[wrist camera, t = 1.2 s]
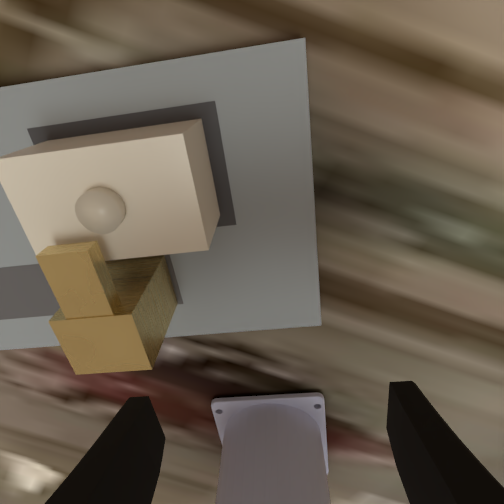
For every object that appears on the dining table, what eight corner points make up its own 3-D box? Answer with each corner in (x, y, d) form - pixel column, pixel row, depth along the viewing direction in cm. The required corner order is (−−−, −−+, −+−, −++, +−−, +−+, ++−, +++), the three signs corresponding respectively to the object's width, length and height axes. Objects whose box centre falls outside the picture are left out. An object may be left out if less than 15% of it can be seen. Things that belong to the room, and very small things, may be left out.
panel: (318, 309, 21) (321, 325, 20) (13, 333, 23) (-2, 350, 22) (301, 40, 14) (305, 37, 13) (-121, 108, 17) (-155, 112, 15)
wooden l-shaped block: (177, 302, 19) (151, 369, 15) (117, 307, 20) (76, 374, 15) (148, 201, 16) (106, 249, 12) (79, 210, 17) (15, 258, 13)
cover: (220, 214, 17) (206, 257, 13) (83, 230, 17) (32, 275, 14) (201, 118, 15) (178, 136, 11) (47, 140, 15) (-23, 164, 12)
